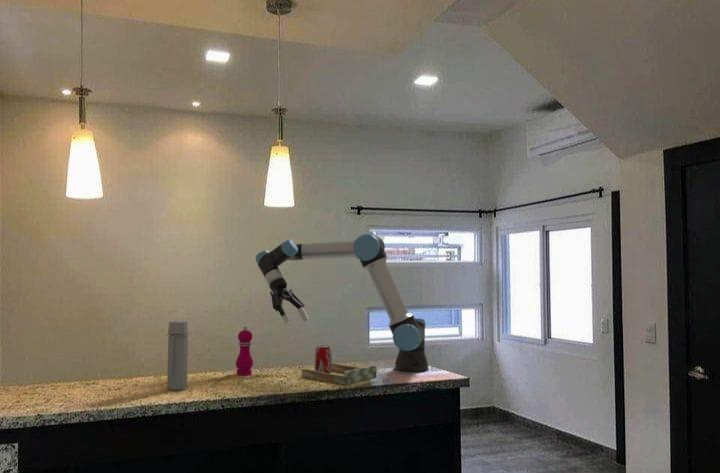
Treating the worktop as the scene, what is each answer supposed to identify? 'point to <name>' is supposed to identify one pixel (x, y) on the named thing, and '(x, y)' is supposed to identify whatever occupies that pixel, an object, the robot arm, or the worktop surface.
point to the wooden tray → (349, 376)
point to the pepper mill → (244, 353)
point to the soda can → (323, 358)
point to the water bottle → (177, 355)
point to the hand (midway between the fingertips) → (297, 321)
